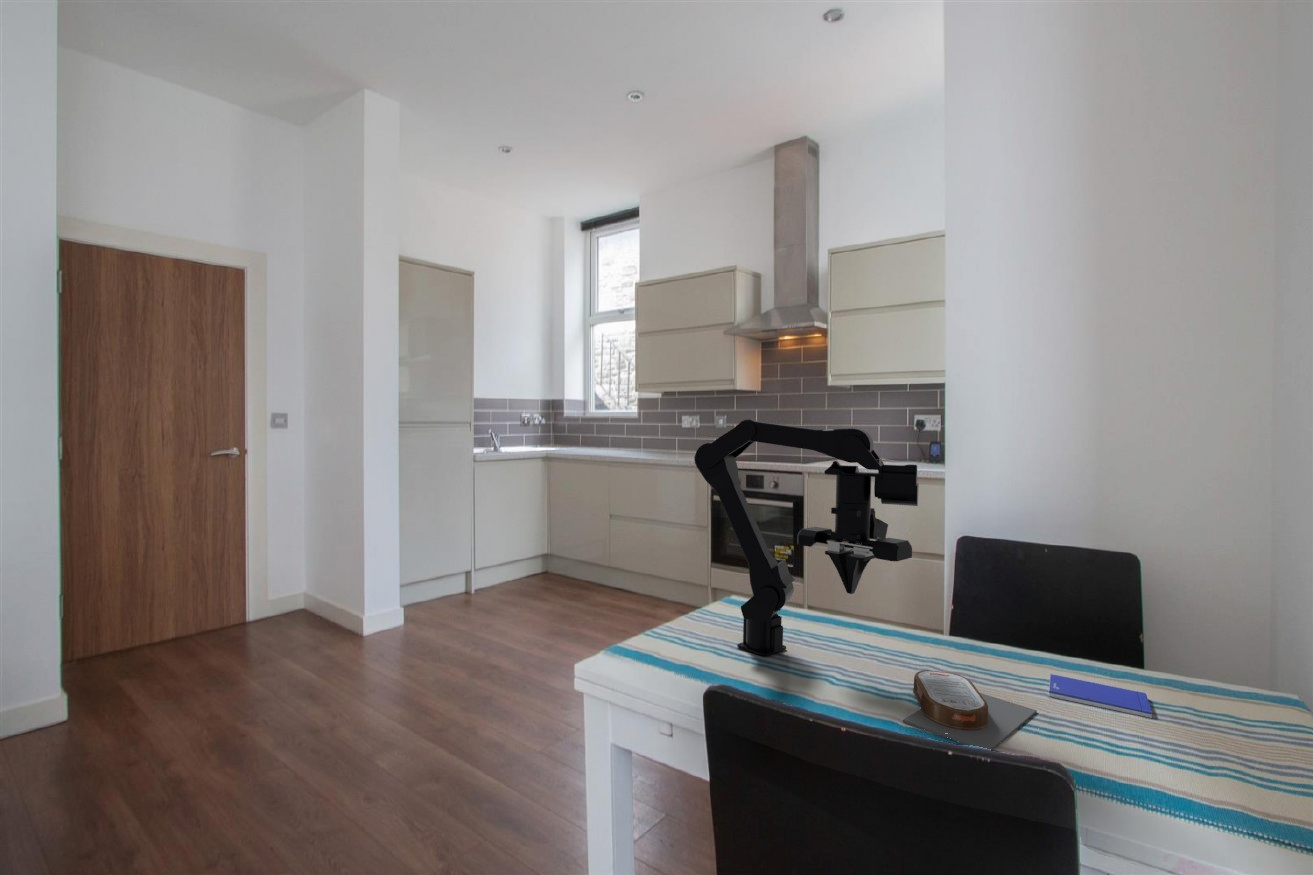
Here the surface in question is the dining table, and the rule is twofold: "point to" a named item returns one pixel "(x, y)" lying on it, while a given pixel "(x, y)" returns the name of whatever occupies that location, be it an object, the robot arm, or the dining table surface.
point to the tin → (950, 700)
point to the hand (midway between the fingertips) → (850, 593)
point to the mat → (1000, 726)
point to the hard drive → (1099, 695)
